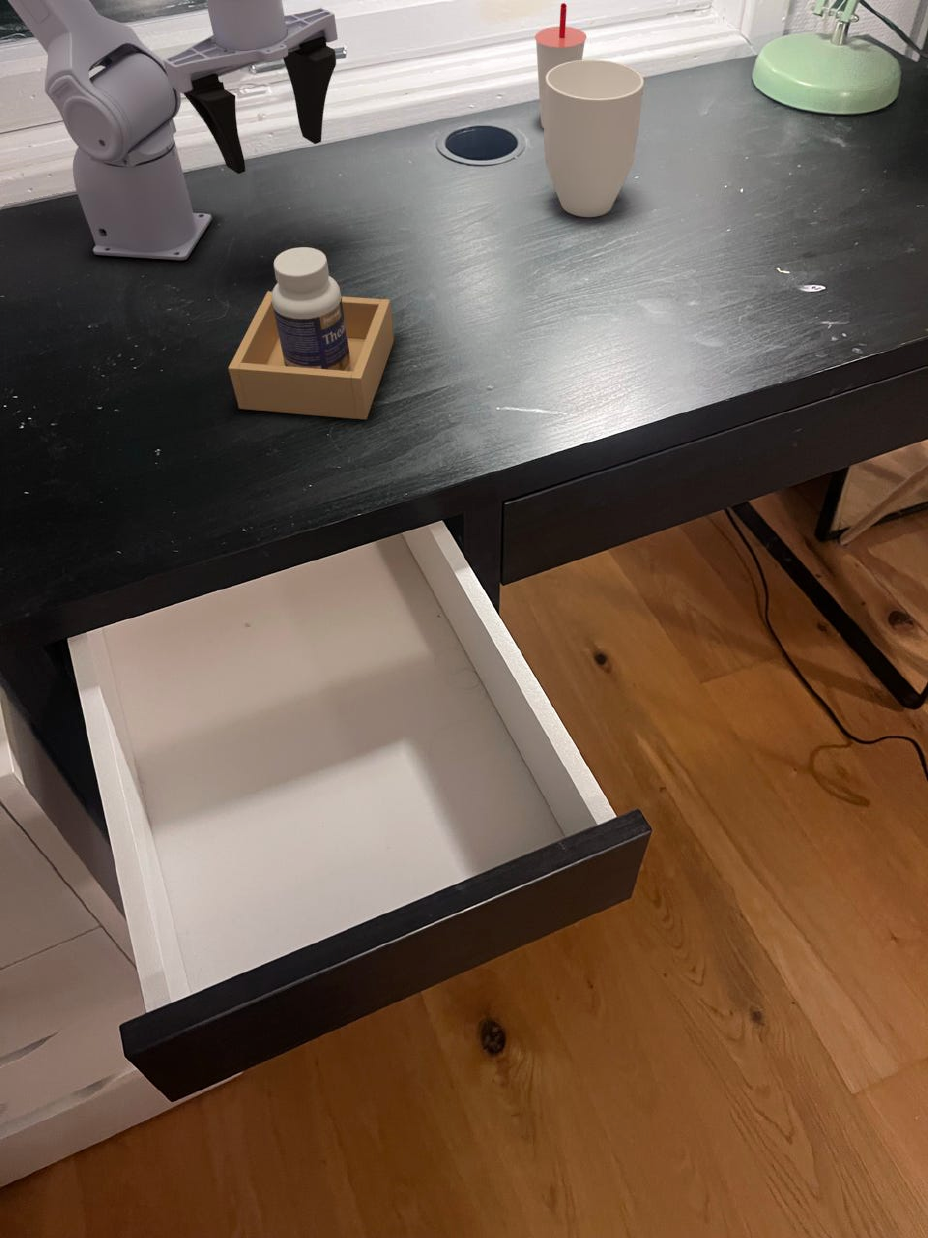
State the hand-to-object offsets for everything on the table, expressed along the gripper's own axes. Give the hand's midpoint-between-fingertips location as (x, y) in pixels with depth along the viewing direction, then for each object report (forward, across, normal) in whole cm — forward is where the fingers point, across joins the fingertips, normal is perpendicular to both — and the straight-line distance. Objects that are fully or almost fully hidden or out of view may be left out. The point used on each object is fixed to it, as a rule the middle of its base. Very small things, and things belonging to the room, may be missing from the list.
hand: (274, 153), depth 82 cm
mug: (+11, +28, -9) cm, 31 cm away
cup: (+11, +37, +5) cm, 39 cm away
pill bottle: (+10, -8, -15) cm, 20 cm away
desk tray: (+11, -8, -15) cm, 20 cm away
